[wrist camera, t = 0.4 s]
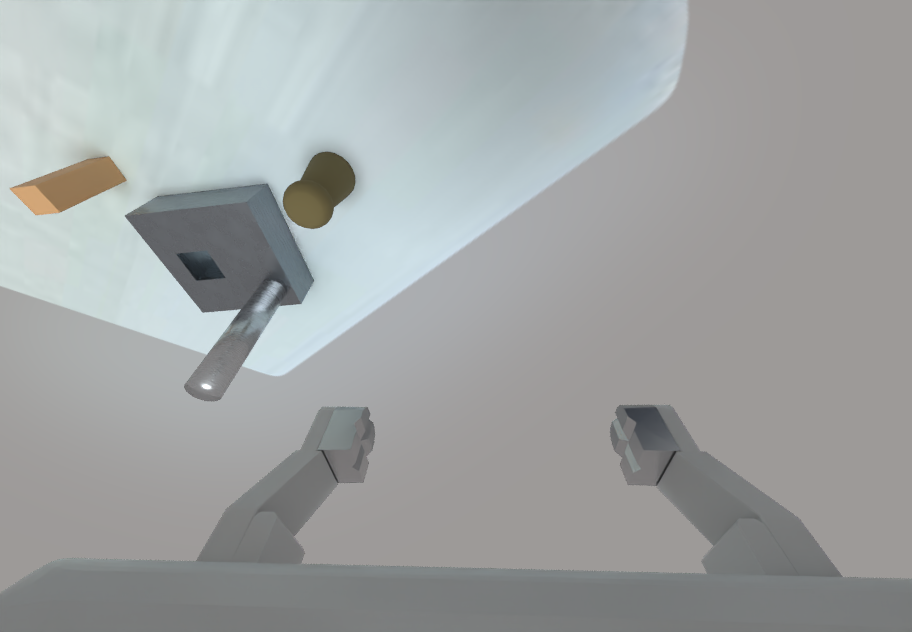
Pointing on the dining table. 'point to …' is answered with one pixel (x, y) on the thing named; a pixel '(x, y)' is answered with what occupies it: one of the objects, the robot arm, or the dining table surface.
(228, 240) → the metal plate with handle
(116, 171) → the orange brown rectangular block
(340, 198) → the cork
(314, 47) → the dining table surface
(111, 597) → the robot arm
